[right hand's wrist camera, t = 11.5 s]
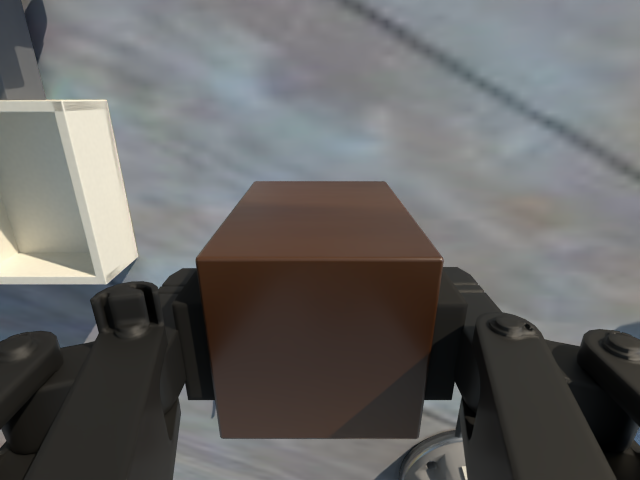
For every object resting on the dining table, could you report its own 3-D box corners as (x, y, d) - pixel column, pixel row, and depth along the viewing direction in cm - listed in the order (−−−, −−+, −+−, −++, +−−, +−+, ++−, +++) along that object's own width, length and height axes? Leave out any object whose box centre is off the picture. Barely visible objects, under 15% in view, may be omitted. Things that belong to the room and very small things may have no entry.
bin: (138, 256, 36) (106, 284, 31) (20, 256, 36) (-33, 284, 31) (71, -77, 26) (7, -122, 21) (-91, -77, 26) (-197, -122, 21)
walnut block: (378, 296, 16) (419, 440, 9) (261, 295, 16) (219, 440, 9) (386, 181, 14) (446, 258, 7) (253, 180, 14) (193, 257, 7)
